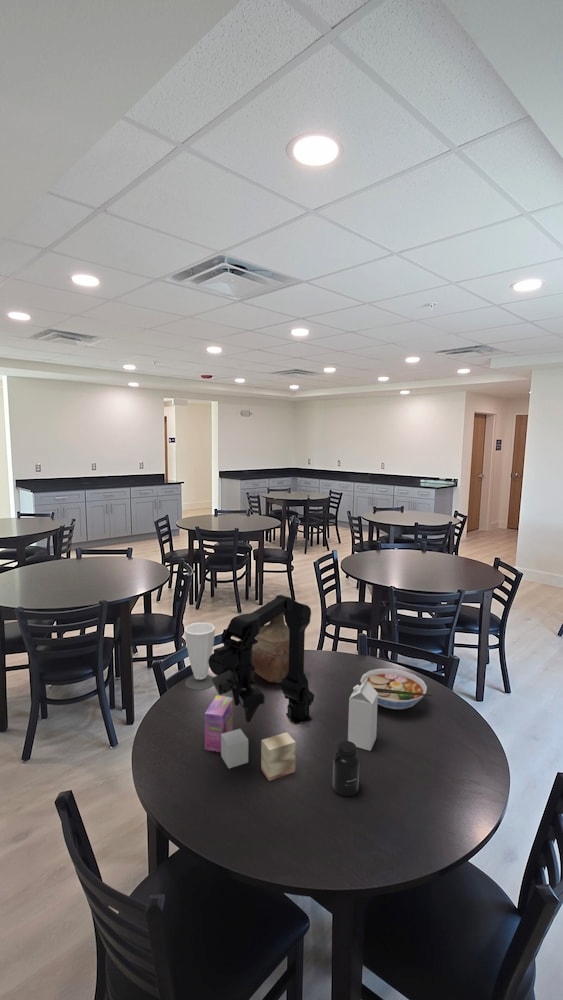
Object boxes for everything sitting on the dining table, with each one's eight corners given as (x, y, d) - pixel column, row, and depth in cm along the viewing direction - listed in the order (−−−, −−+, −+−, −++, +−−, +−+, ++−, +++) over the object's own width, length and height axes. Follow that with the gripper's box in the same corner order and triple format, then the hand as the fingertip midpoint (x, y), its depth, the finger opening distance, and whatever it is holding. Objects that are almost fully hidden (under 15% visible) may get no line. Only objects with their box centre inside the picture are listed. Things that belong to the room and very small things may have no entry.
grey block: (240, 750, 143) (240, 728, 142) (248, 762, 137) (248, 739, 137) (221, 756, 140) (221, 734, 139) (228, 768, 135) (228, 745, 134)
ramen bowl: (425, 690, 178) (426, 669, 177) (433, 725, 156) (434, 702, 155) (357, 683, 183) (357, 663, 182) (355, 717, 160) (356, 694, 159)
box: (222, 753, 141) (222, 715, 140) (204, 750, 143) (204, 713, 141) (233, 732, 151) (233, 697, 150) (216, 729, 153) (215, 694, 151)
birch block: (286, 761, 138) (286, 732, 137) (294, 771, 134) (295, 741, 133) (261, 769, 134) (261, 739, 133) (269, 781, 130) (269, 750, 129)
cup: (213, 690, 177) (212, 634, 174) (181, 689, 177) (181, 633, 174) (217, 675, 188) (217, 622, 185) (188, 674, 188) (187, 621, 185)
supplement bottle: (352, 801, 123) (353, 757, 122) (328, 790, 127) (329, 748, 125) (362, 785, 129) (364, 743, 127) (339, 775, 132) (340, 735, 131)
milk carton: (376, 738, 149) (378, 680, 147) (370, 751, 143) (372, 691, 140) (354, 732, 152) (355, 675, 150) (347, 745, 146) (349, 686, 143)
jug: (310, 689, 178) (311, 611, 174) (252, 695, 173) (252, 615, 169) (295, 663, 199) (296, 593, 195) (244, 668, 194) (244, 596, 190)
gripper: (205, 653, 141) (205, 703, 143) (226, 682, 124) (226, 738, 126) (240, 646, 146) (240, 695, 148) (265, 674, 129) (265, 728, 131)
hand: (242, 713), depth 138 cm, fingers open, 9 cm apart
